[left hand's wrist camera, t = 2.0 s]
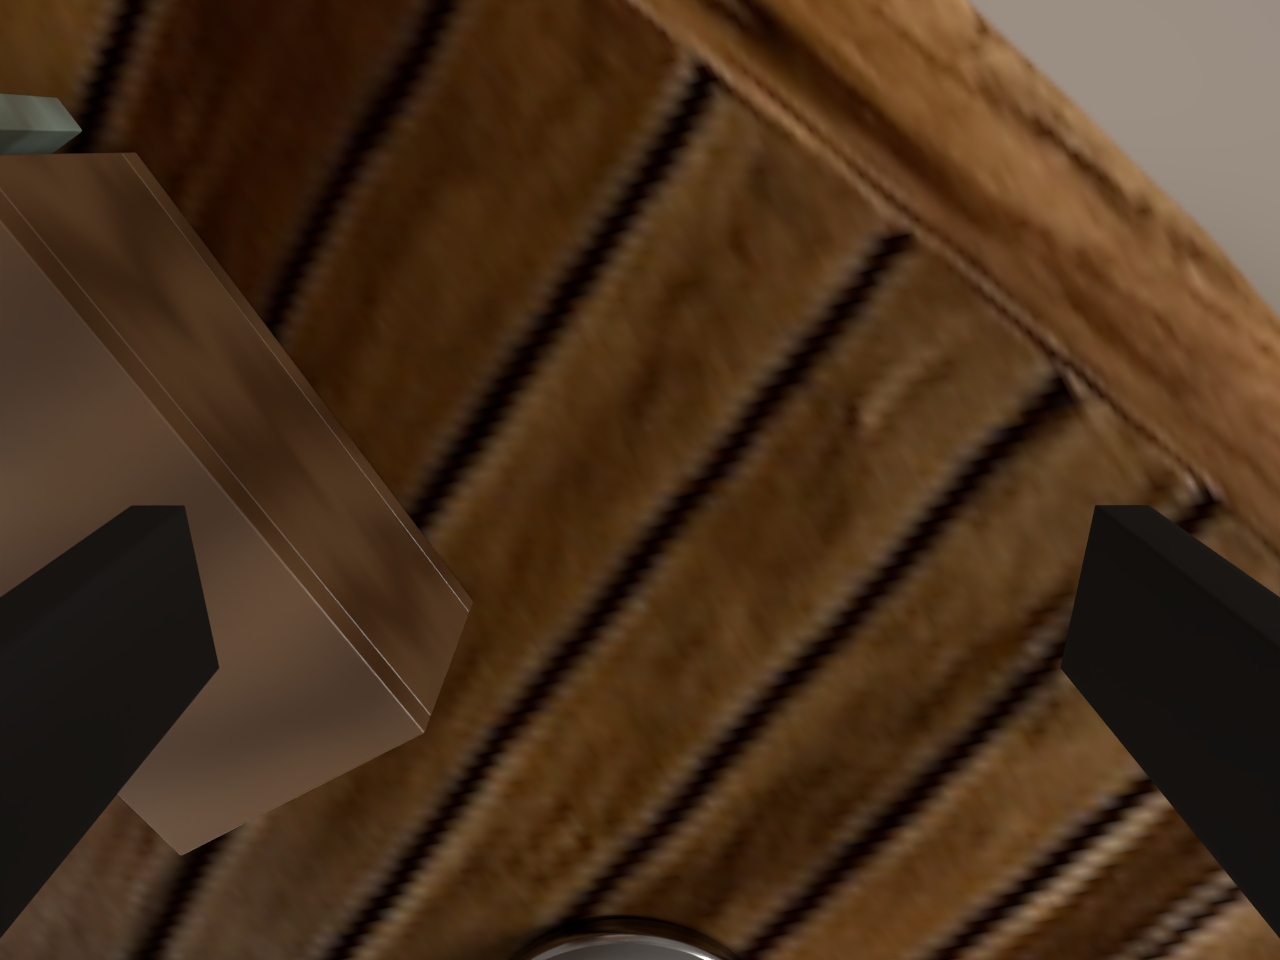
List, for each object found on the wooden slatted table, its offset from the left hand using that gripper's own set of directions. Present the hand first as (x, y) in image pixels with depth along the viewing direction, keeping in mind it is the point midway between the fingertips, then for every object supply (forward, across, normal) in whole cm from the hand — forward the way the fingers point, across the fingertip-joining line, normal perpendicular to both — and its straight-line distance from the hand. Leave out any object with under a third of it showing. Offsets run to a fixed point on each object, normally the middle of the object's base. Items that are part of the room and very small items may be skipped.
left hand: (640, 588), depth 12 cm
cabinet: (+20, +17, +6) cm, 27 cm away
